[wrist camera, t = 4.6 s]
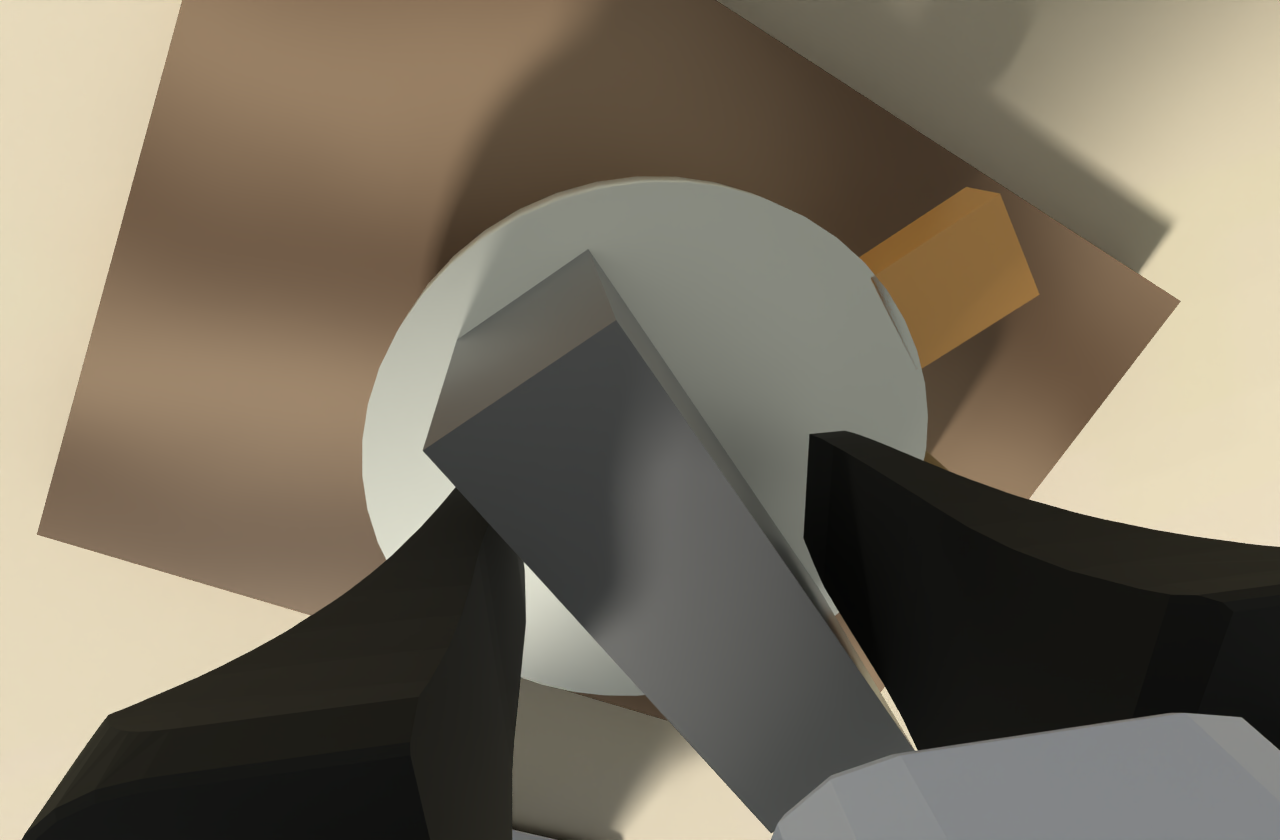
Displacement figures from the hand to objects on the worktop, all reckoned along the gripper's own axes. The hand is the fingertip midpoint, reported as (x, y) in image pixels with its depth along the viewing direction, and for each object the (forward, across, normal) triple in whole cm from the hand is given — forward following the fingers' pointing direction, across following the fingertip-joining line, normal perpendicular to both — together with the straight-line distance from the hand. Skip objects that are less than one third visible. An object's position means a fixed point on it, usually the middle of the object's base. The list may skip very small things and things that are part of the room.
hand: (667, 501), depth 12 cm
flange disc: (+2, -1, 0) cm, 2 cm away
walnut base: (+5, 0, 0) cm, 5 cm away
